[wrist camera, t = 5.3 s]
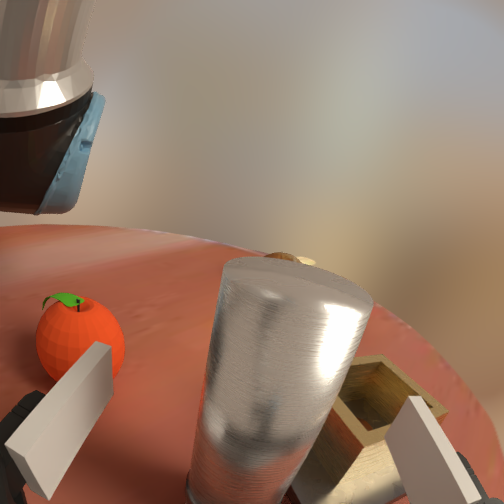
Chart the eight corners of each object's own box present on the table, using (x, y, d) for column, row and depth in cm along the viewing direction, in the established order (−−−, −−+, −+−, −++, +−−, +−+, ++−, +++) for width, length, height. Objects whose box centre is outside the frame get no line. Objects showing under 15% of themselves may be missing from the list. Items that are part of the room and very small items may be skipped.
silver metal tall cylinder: (192, 550, 9) (249, 316, 6) (176, 485, 13) (206, 249, 10) (278, 536, 11) (408, 315, 7) (251, 478, 15) (325, 263, 12)
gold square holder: (310, 537, 11) (348, 498, 9) (238, 392, 23) (250, 343, 22) (454, 464, 15) (487, 420, 14) (366, 378, 28) (384, 337, 27)
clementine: (19, 371, 17) (5, 290, 16) (72, 341, 24) (70, 268, 22) (89, 425, 15) (78, 338, 14) (141, 378, 22) (145, 300, 20)
